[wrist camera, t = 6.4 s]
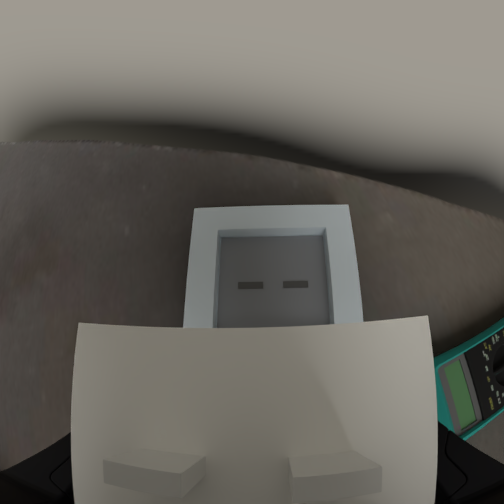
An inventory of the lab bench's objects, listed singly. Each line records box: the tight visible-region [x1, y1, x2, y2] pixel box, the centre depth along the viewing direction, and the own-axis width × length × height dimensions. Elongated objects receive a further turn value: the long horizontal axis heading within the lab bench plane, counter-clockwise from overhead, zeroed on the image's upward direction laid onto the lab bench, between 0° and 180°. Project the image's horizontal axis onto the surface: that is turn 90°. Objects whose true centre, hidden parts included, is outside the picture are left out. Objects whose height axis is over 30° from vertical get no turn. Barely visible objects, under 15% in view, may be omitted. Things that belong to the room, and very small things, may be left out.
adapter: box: [71, 315, 438, 504], centre depth 8 cm, size 4×6×13 cm
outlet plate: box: [183, 205, 363, 328], centre depth 23 cm, size 12×12×2 cm
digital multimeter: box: [433, 317, 504, 440], centre depth 18 cm, size 7×15×3 cm, turn 106°
